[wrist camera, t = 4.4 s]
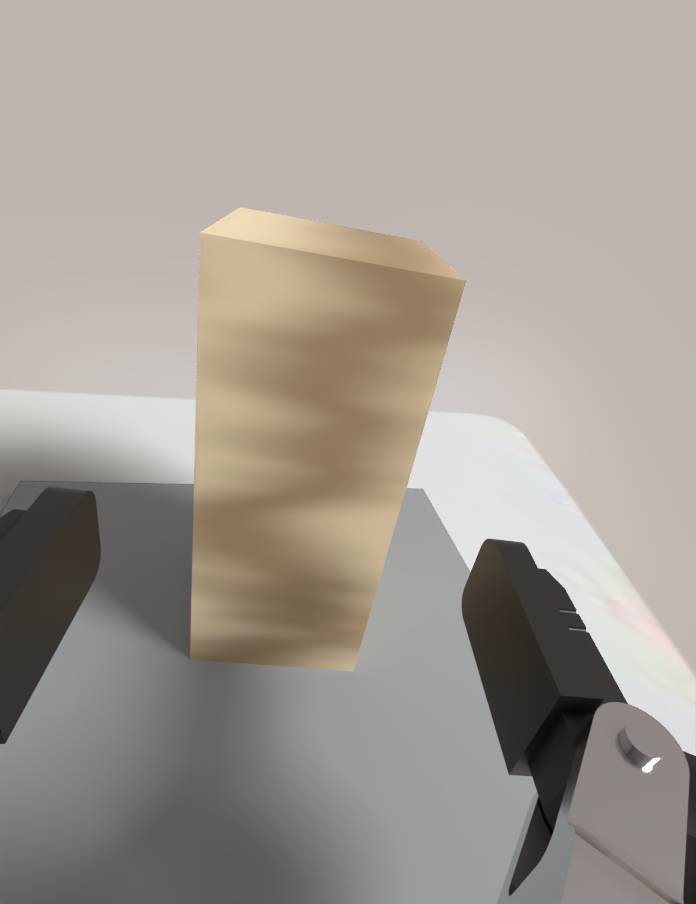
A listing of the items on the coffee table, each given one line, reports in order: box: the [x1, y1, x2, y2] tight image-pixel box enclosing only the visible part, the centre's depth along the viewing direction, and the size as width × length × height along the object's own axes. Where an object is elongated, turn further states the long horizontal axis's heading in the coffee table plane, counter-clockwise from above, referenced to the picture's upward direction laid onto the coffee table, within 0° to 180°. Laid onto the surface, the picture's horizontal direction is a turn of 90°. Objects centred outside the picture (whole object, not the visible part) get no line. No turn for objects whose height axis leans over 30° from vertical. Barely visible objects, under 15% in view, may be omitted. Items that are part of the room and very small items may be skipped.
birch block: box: [190, 207, 466, 672], centre depth 14 cm, size 5×5×12 cm
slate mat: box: [0, 481, 537, 904], centre depth 16 cm, size 18×16×1 cm
